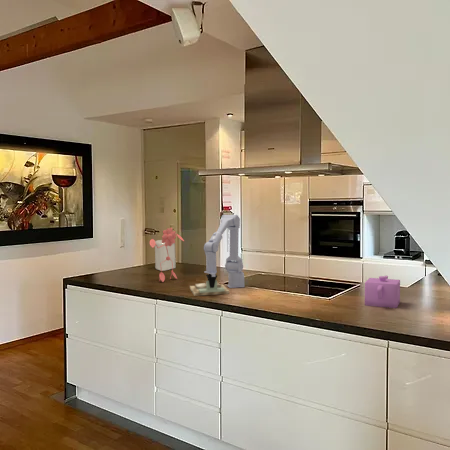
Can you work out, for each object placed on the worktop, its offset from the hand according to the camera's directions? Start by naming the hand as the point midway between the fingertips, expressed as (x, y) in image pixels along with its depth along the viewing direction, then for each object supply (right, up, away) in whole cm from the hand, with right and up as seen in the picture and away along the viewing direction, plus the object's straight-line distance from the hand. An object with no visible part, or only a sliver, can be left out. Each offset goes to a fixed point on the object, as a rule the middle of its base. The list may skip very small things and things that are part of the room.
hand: (211, 287), depth 264 cm
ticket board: (-2, -4, +10) cm, 11 cm away
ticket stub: (0, -2, +1) cm, 3 cm away
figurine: (-27, -2, +41) cm, 49 cm away
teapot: (+87, -5, -26) cm, 91 cm away
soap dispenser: (-39, +2, +89) cm, 97 cm away
